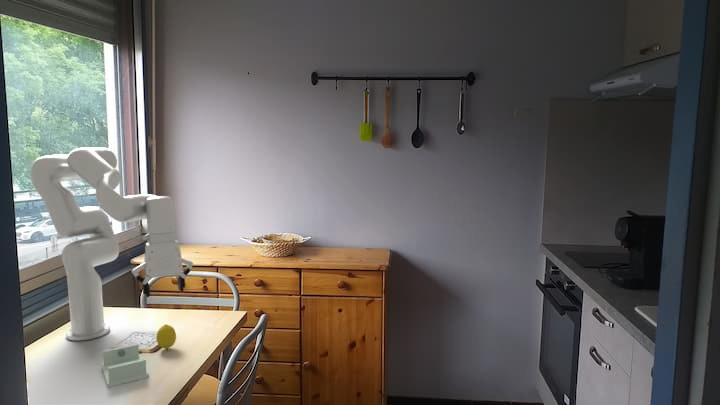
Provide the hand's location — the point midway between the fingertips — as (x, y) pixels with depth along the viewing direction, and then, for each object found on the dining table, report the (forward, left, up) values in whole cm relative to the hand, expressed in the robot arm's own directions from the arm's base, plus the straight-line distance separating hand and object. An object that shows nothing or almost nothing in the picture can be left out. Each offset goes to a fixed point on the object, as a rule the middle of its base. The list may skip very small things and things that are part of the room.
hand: (164, 293), depth 144 cm
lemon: (0, 0, -18) cm, 18 cm away
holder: (+9, -13, -18) cm, 24 cm away
